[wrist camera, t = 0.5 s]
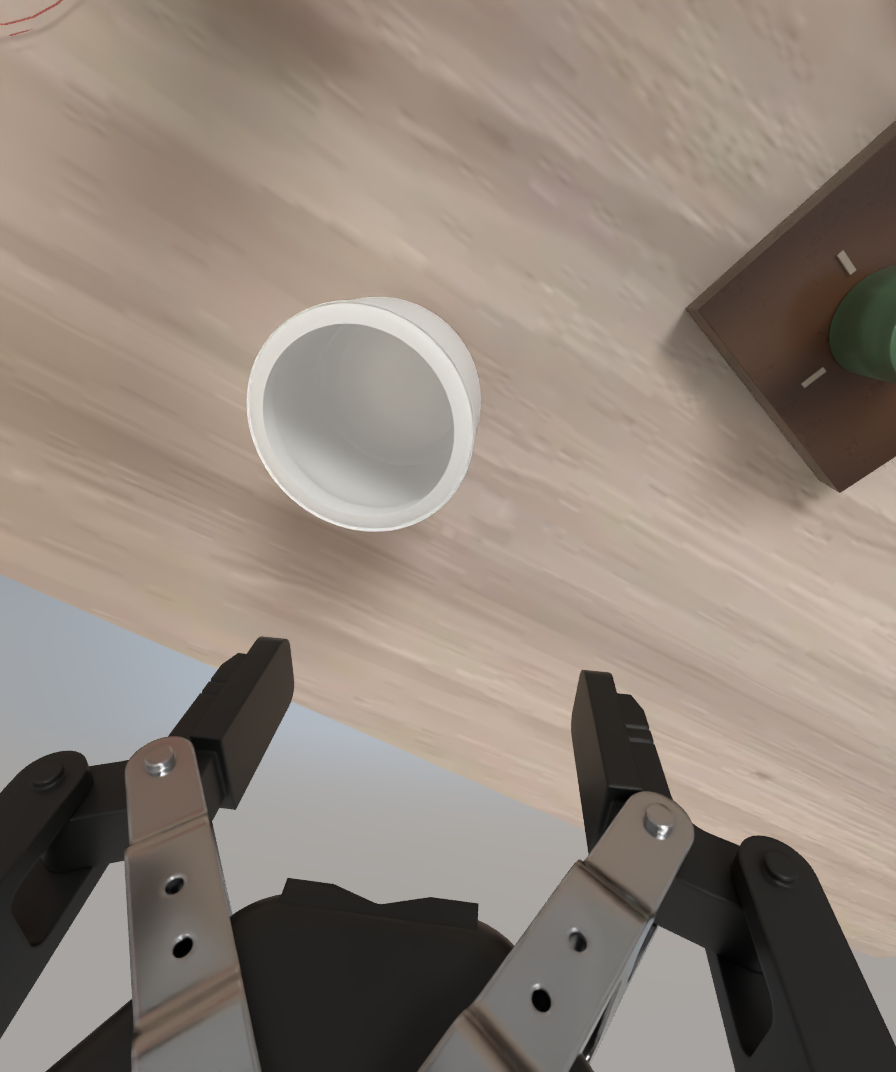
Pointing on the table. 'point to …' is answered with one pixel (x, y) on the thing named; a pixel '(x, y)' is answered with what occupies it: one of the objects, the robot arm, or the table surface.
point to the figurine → (31, 17)
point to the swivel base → (814, 318)
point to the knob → (867, 327)
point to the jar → (365, 411)
